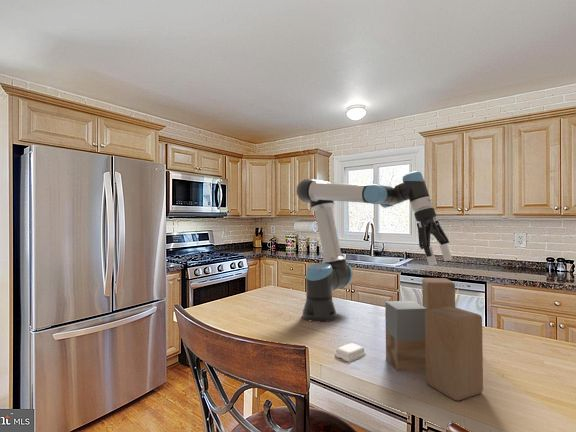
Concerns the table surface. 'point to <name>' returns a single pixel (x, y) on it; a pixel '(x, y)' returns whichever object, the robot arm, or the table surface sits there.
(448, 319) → the block
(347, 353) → the soap
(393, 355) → the walnut base cube
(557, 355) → the table surface
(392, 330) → the grey cube
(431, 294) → the wooden block
